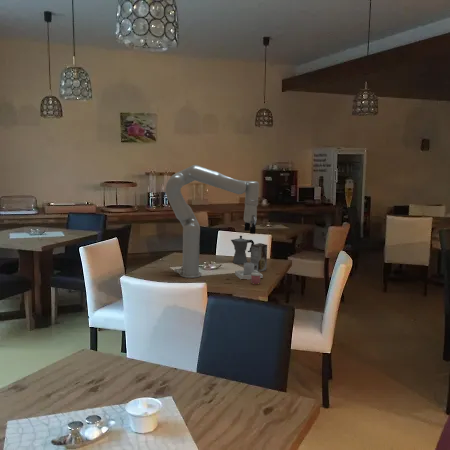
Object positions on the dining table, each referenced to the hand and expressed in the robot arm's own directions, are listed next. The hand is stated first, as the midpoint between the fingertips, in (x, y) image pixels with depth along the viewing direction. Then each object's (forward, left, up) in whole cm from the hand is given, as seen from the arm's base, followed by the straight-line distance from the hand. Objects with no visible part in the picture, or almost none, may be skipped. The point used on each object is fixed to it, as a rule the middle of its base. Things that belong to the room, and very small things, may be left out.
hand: (249, 232), depth 295 cm
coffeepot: (+7, +35, -27) cm, 45 cm away
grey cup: (0, 0, -26) cm, 26 cm away
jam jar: (-1, -15, -27) cm, 30 cm away
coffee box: (+11, +14, -27) cm, 32 cm away
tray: (0, 0, -26) cm, 26 cm away
